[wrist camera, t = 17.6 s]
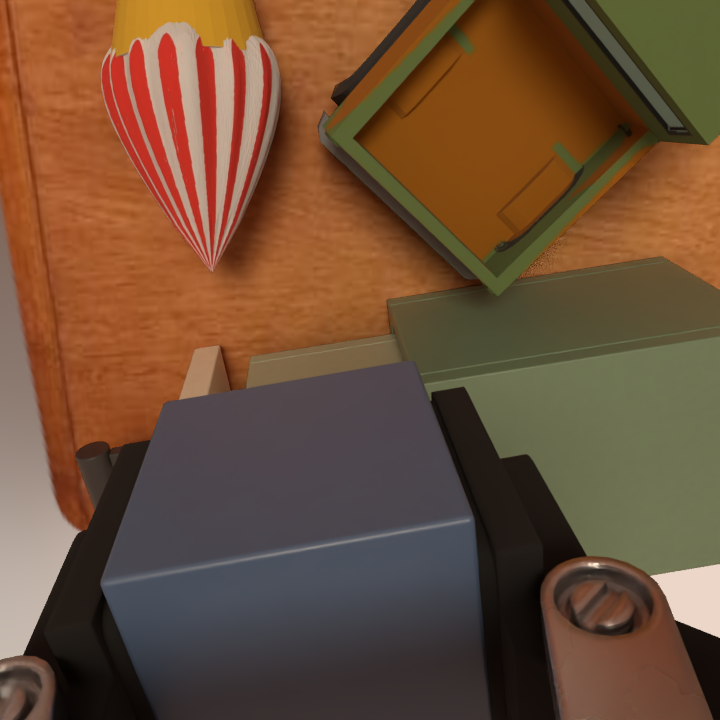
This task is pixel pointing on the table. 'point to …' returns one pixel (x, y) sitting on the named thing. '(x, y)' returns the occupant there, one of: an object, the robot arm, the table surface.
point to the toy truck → (521, 116)
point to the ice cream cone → (194, 109)
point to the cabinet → (593, 396)
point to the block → (302, 557)
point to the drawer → (250, 385)
